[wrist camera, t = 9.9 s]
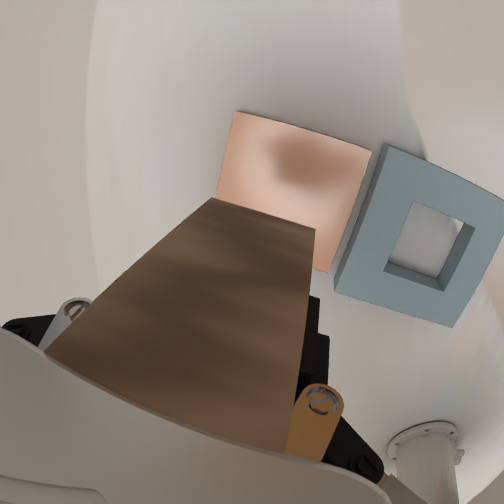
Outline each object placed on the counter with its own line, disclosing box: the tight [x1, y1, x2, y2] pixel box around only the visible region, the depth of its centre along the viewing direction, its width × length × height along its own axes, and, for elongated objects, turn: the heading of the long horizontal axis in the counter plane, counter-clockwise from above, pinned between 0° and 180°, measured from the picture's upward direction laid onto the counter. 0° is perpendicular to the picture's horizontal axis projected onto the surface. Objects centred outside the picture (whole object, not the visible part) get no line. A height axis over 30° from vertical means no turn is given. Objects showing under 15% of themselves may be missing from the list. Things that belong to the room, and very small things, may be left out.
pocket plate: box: [334, 144, 504, 328], centre depth 26 cm, size 14×14×2 cm
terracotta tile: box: [216, 111, 372, 273], centre depth 28 cm, size 12×12×1 cm
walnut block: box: [43, 198, 316, 454], centre depth 11 cm, size 5×5×11 cm
